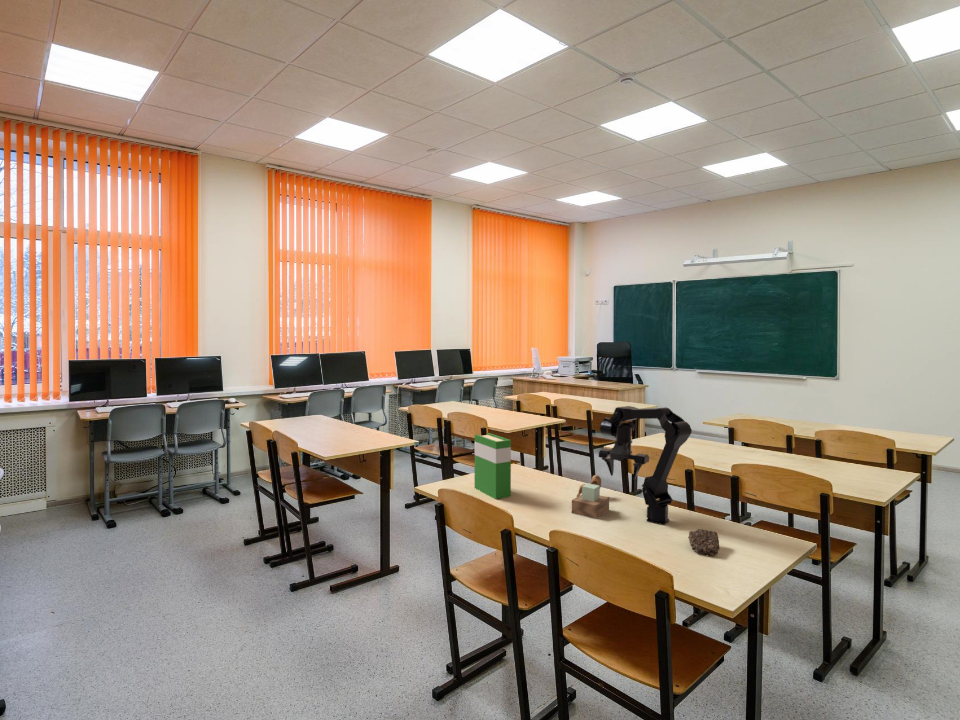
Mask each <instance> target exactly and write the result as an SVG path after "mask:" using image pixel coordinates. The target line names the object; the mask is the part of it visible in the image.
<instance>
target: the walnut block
mask: <svg viewBox="0 0 960 720" xmlns="http://www.w3.org/2000/svg"><path fill="white" fill-rule="evenodd" d="M608 511H610V496H604V495H600V498H599V499H598V500H596V501H594V502H593V501H588V500H583V499H582V494H580V496H578V497H577V496H576V497H574V498H573V499H571V514H574V513H575V514H574V515H578V514H579V516H582V515H583V517H586V518H587V517H588V518H592V519H595V520H597V519H598V518H599V517H601V516H602V515H604V514H605V513H607V512H608Z"/></svg>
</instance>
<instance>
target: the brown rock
mask: <svg viewBox="0 0 960 720" xmlns="http://www.w3.org/2000/svg"><path fill="white" fill-rule="evenodd" d="M718 535H719V534H718V533H717V531H715V530H708V529H704V528H698V529H695V530H690V531H689V532H688V537H687V538H688V541H689V544H690V547H691V550H692V551H695V552H696V553H697V554H698V555H702V556H707V555H708V556H707V557H716V556H717V555H718V553H719V549H720V540H719V536H718Z"/></svg>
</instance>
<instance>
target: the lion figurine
mask: <svg viewBox="0 0 960 720" xmlns="http://www.w3.org/2000/svg"><path fill="white" fill-rule="evenodd" d="M586 484H587V483H583V484H581V485H580V486H579V489H578V493H577V494H576V498H577V497H578V496H580V495H582V486H584V485H586ZM589 484H594V485H599V486H600V489H601V487H602V478H601V477H600V475H598V474H594V475H593V476H592V477H591V482H590V483H589Z"/></svg>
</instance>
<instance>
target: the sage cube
mask: <svg viewBox="0 0 960 720" xmlns="http://www.w3.org/2000/svg"><path fill="white" fill-rule="evenodd" d="M585 484H586V485H584V486H582V493H581V495H582V499H583V500H588V501H593V502H594V501H596V500H598V499H599V498H600V496H601V495H600V493H601V492H600V490H601V488H600V486H599V485H594V484H590V483H589V482H588V483H585Z"/></svg>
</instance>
